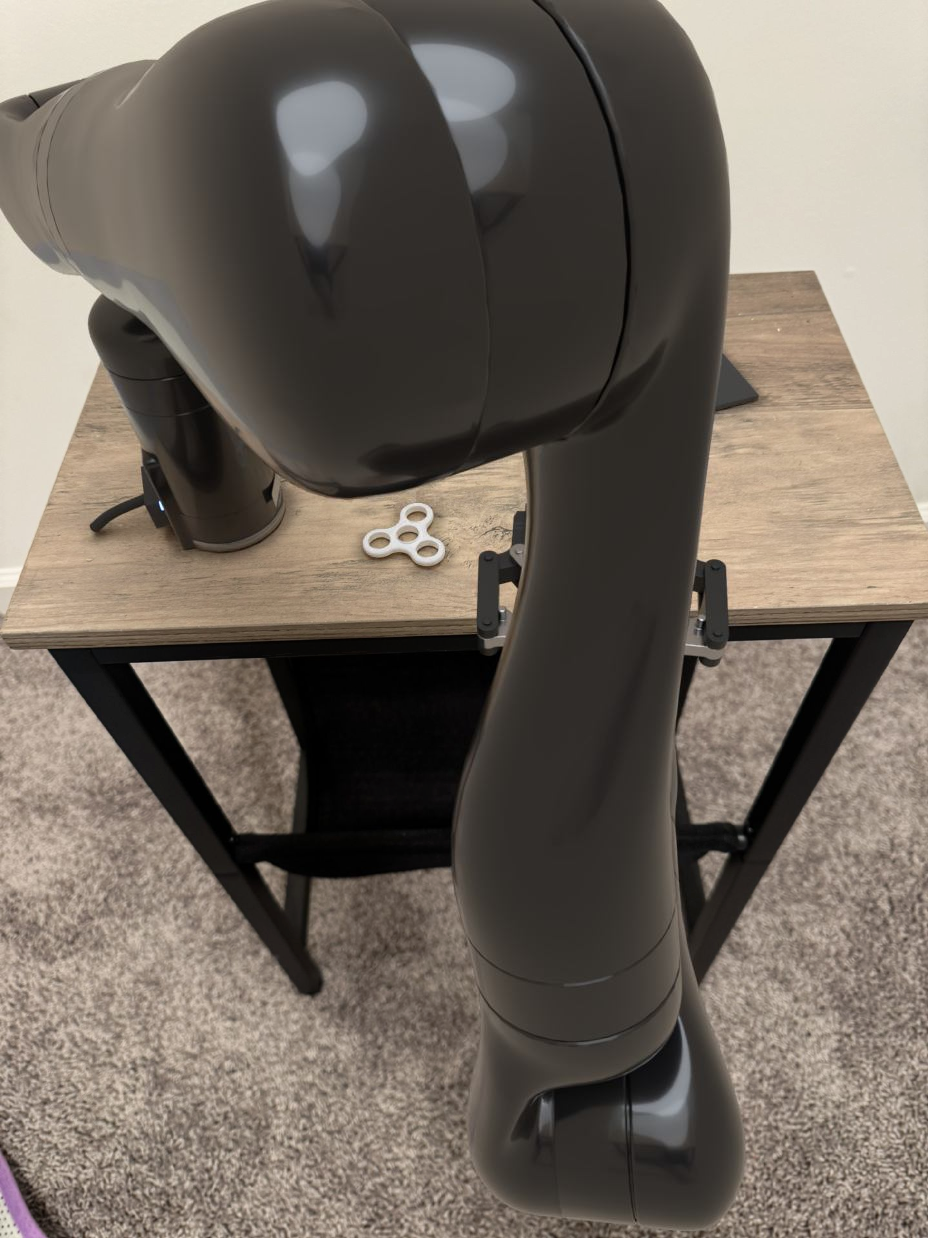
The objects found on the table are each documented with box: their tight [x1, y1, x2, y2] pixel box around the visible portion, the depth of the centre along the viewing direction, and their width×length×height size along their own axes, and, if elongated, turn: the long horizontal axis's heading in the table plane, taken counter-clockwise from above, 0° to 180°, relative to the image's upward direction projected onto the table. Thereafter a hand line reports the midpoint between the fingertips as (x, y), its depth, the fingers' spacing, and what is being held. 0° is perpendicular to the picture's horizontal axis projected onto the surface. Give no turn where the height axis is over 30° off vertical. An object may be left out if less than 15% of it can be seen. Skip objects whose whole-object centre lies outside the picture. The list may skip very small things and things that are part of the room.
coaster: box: [715, 352, 760, 412], centre depth 80 cm, size 11×11×1 cm
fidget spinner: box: [362, 502, 446, 567], centre depth 69 cm, size 7×6×1 cm
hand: (598, 514), depth 52 cm, fingers open, 8 cm apart
